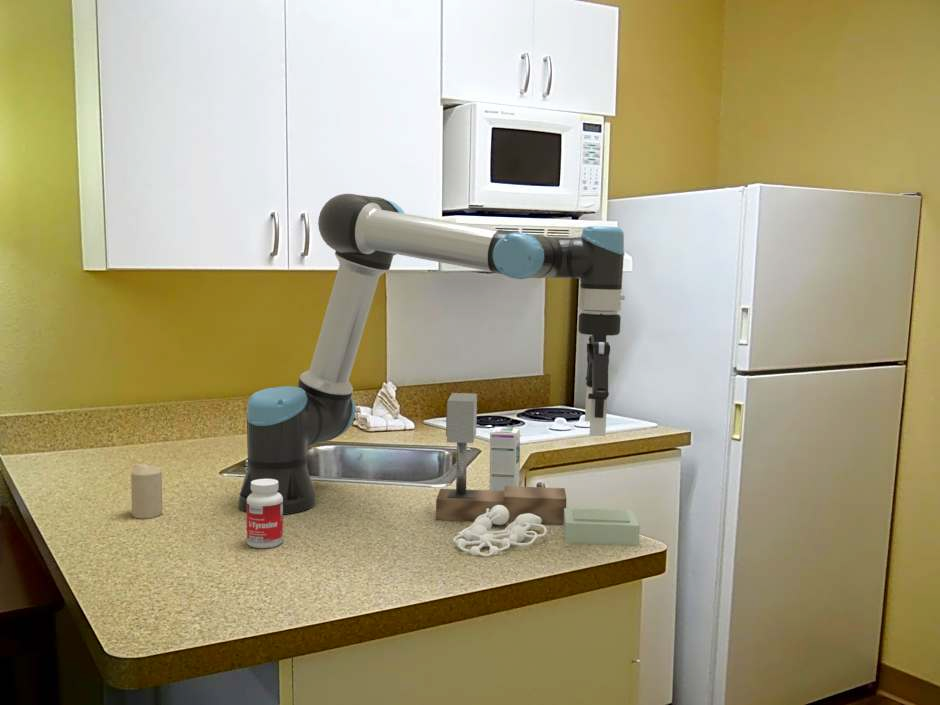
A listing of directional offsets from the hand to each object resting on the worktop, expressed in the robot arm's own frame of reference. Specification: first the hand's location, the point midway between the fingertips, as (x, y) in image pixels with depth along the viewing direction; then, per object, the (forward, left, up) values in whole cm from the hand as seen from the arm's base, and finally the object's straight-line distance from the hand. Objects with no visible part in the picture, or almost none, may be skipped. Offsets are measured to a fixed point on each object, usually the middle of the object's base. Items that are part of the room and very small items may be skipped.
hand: (594, 428), depth 155 cm
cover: (+1, -2, -20) cm, 20 cm away
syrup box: (-17, +23, -20) cm, 35 cm away
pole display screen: (-25, +8, -16) cm, 31 cm away
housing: (-17, +8, -20) cm, 27 cm away
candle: (-85, 0, -20) cm, 88 cm away
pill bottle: (-58, -13, -20) cm, 62 cm away
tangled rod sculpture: (-16, -6, -20) cm, 27 cm away
